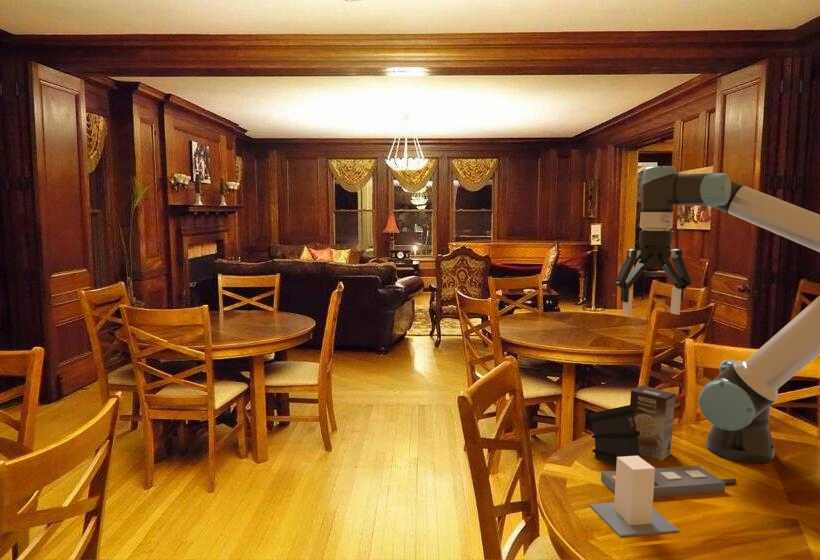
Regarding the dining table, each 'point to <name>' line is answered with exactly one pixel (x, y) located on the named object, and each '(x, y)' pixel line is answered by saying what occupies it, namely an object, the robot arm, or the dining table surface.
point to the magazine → (615, 434)
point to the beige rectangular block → (634, 490)
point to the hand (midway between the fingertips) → (651, 314)
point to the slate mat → (625, 529)
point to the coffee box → (653, 420)
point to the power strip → (678, 481)
